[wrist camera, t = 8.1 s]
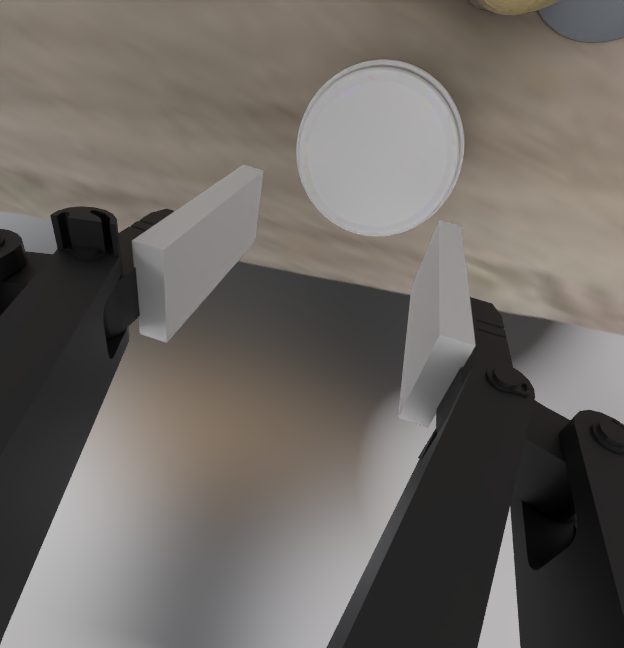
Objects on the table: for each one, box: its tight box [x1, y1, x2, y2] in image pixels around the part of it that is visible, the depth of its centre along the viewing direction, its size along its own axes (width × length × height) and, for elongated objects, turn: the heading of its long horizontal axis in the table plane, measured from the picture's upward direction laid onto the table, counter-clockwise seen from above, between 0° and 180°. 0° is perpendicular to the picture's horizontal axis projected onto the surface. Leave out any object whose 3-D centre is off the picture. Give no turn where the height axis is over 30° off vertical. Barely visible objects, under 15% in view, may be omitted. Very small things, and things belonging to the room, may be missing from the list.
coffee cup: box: [296, 59, 465, 236], centre depth 27 cm, size 9×9×12 cm
